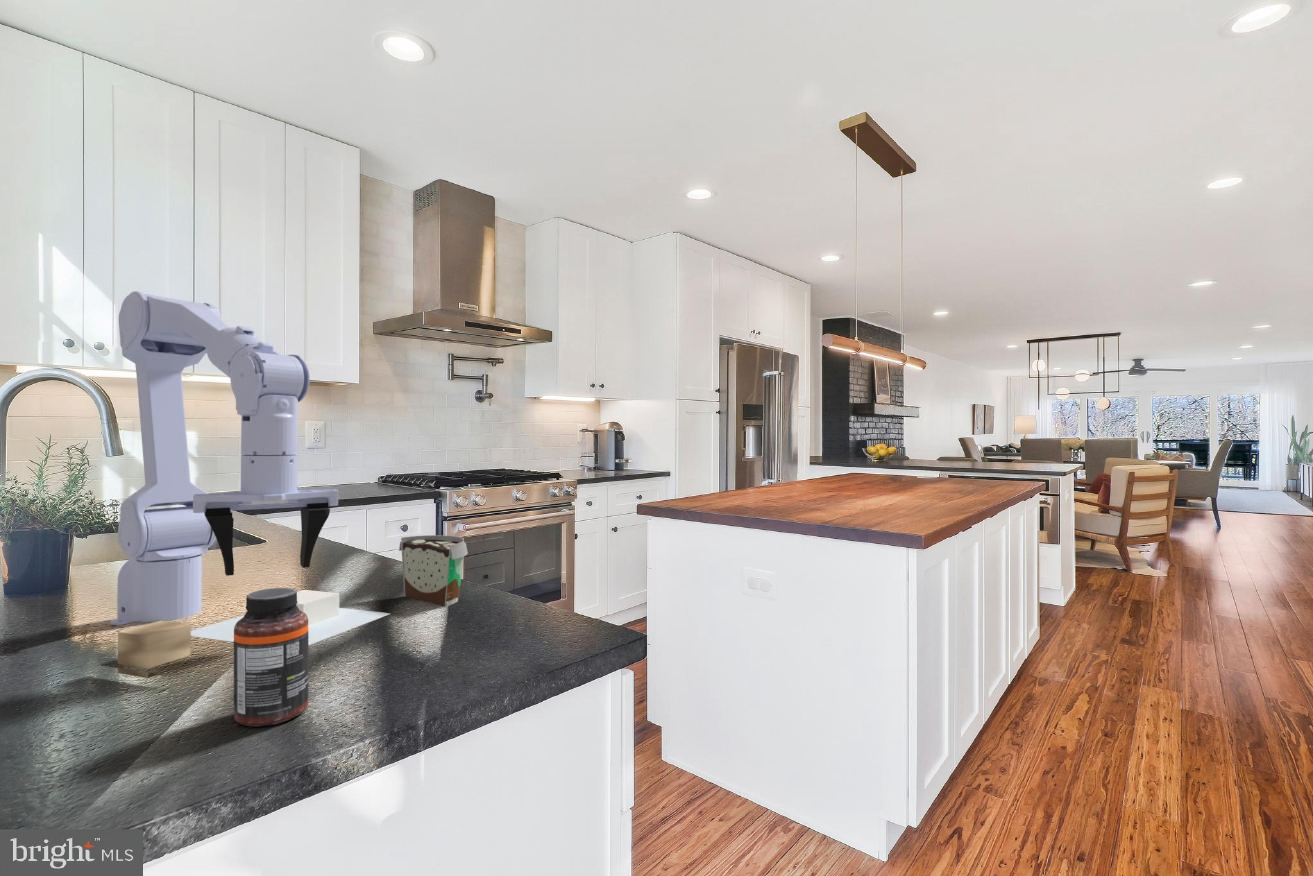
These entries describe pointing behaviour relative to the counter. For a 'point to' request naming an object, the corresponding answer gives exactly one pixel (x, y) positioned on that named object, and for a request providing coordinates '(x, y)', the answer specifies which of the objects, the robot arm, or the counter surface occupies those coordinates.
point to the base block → (318, 605)
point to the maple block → (153, 646)
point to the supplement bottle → (270, 659)
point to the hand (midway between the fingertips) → (268, 570)
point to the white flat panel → (315, 632)
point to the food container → (432, 567)
